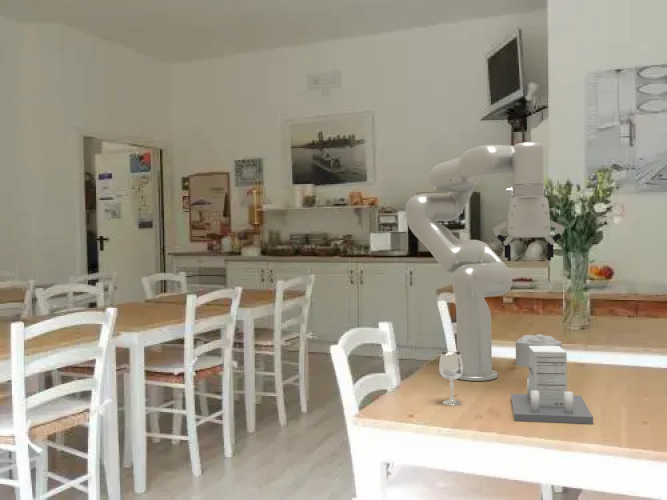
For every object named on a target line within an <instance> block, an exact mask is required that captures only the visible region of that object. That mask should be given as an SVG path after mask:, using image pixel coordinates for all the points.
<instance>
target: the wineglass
mask: <svg viewBox="0 0 667 500" xmlns="http://www.w3.org/2000/svg"><path fill="white" fill-rule="evenodd" d="M463 369H464V366H463V359H462V356H461V353H460V352H457V351H450V350H448V351H442V352H440V357H439V363H438V370H439V373H440V375H441V377H443V378H444V379H446V380H449V388H450V398H449V399H446V400H443V401H442V404H443V405H446V406H460V405H461V404H462V402H461V401H460V400H456V399H455V398H454V394H453V393H454V392H453V391H454V384H455V382H454V380H457V378H459V377H461V375H462V374H463Z"/></svg>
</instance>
